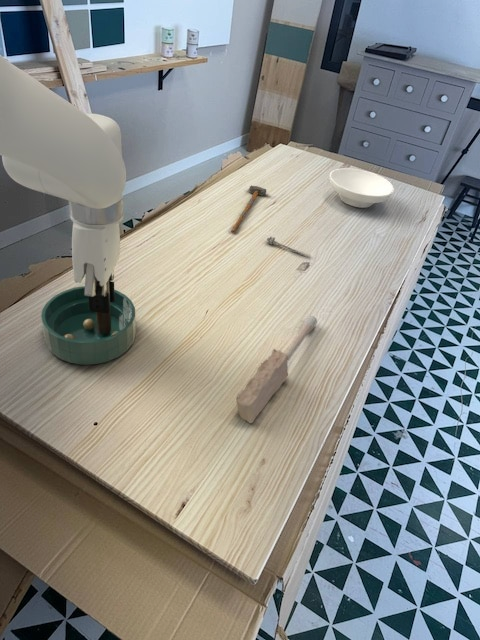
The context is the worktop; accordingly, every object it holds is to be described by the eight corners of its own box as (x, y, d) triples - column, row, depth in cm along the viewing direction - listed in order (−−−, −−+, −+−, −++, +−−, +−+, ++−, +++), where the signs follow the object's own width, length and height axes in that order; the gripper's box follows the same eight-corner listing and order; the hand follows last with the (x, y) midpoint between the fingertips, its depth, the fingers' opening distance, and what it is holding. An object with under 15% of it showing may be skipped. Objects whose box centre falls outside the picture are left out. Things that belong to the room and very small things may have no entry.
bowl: (325, 183, 151) (331, 163, 147) (385, 196, 150) (392, 176, 146) (321, 208, 136) (328, 186, 132) (388, 223, 135) (396, 201, 131)
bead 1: (74, 340, 81) (66, 348, 80) (66, 332, 80) (57, 340, 79) (79, 339, 79) (71, 347, 78) (70, 330, 79) (62, 338, 77)
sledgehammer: (223, 232, 119) (241, 237, 118) (223, 225, 117) (242, 230, 117) (250, 190, 139) (266, 194, 139) (250, 184, 138) (267, 188, 137)
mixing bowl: (71, 380, 74) (67, 355, 71) (30, 327, 82) (25, 302, 79) (151, 344, 83) (152, 321, 80) (108, 299, 91) (107, 276, 88)
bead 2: (80, 326, 83) (81, 326, 81) (86, 316, 83) (87, 316, 82) (90, 331, 84) (91, 332, 82) (96, 321, 84) (97, 322, 82)
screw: (266, 243, 117) (269, 236, 117) (306, 261, 115) (309, 253, 115) (265, 241, 115) (268, 234, 115) (305, 259, 113) (309, 252, 113)
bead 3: (113, 337, 80) (122, 343, 81) (117, 327, 81) (126, 333, 82) (107, 340, 81) (116, 345, 82) (111, 330, 82) (120, 335, 83)
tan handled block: (299, 307, 94) (237, 383, 69) (320, 313, 92) (264, 393, 68) (293, 339, 97) (232, 422, 73) (313, 345, 96) (257, 432, 71)
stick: (101, 335, 81) (98, 284, 74) (94, 328, 83) (90, 277, 76) (113, 330, 83) (111, 280, 76) (107, 323, 84) (104, 273, 77)
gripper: (87, 180, 74) (94, 276, 85) (49, 229, 61) (63, 333, 73) (135, 187, 74) (135, 282, 86) (106, 238, 62) (111, 340, 73)
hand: (102, 304), depth 79 cm, fingers closed on stick, 2 cm apart
